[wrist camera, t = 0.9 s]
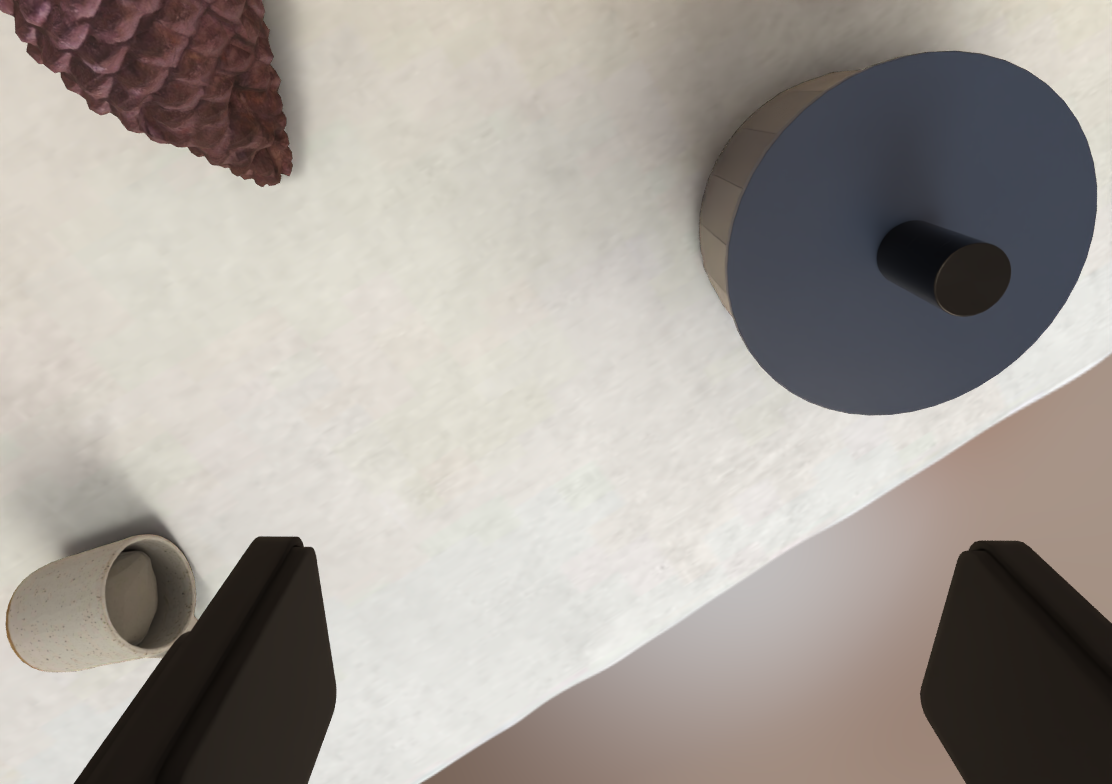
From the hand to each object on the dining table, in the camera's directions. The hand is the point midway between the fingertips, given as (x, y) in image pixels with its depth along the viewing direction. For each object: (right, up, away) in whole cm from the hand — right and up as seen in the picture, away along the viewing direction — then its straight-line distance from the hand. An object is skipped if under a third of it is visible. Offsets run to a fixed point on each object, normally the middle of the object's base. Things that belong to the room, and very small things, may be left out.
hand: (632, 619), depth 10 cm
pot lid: (+14, +10, +20) cm, 27 cm away
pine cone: (-19, +22, +24) cm, 38 cm away
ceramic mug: (-30, -10, +38) cm, 49 cm away
